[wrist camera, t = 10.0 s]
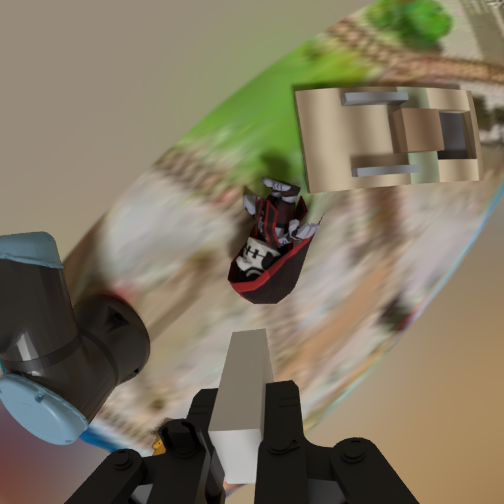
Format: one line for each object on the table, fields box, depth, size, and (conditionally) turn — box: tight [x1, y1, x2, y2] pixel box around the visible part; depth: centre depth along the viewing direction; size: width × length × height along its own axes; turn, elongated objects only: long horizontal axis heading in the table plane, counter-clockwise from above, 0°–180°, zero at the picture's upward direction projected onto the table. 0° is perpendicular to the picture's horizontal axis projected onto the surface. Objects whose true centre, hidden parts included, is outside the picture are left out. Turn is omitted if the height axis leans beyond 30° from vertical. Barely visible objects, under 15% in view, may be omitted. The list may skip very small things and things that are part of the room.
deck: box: [294, 87, 484, 194], centre depth 36 cm, size 26×13×6 cm, turn 98°
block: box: [388, 108, 444, 154], centre depth 33 cm, size 5×5×5 cm
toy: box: [228, 177, 325, 304], centre depth 39 cm, size 12×9×15 cm
